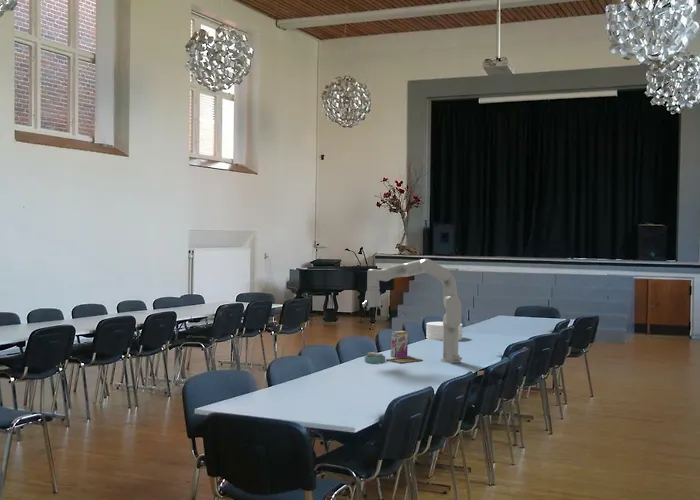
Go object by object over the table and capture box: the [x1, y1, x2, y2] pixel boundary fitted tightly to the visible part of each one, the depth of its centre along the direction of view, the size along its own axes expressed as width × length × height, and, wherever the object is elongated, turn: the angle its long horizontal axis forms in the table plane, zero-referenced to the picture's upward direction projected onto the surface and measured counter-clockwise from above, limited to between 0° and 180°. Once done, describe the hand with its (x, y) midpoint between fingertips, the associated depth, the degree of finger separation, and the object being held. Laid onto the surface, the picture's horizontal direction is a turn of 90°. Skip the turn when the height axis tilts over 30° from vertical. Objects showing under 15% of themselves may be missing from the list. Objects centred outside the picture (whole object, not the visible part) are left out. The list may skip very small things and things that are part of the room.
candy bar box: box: [390, 330, 409, 358], centre depth 492 cm, size 11×5×16 cm, turn 130°
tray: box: [385, 356, 423, 364], centre depth 473 cm, size 14×18×1 cm
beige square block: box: [366, 351, 376, 357], centre depth 472 cm, size 4×4×5 cm
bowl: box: [364, 354, 386, 364], centre depth 470 cm, size 12×12×4 cm
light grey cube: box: [373, 352, 384, 357], centre depth 468 cm, size 4×4×5 cm
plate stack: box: [425, 321, 463, 341], centre depth 587 cm, size 28×28×12 cm
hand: (372, 316), depth 471 cm, fingers open, 9 cm apart
